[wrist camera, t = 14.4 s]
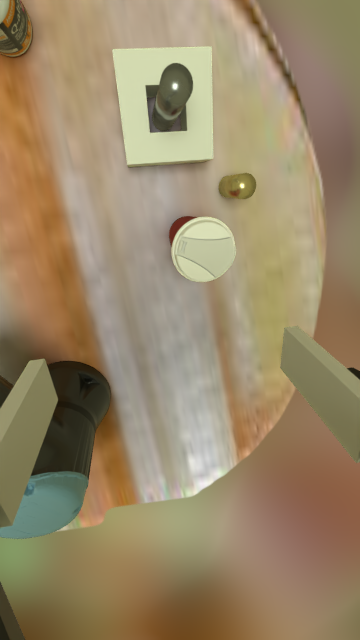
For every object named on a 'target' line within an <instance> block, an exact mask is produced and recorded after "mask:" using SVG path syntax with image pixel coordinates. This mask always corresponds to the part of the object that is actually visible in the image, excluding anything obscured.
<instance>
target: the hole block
mask: <svg viewBox="0 0 360 640" xmlns="http://www.w3.org/2000/svg"><path fill="white" fill-rule="evenodd" d="M112 51H113V59H114V66H115V74H116V82H117V90H118V97H119V105H120V113H121V120H122V128H123V136H124V143H125V151H126V159H127V165H128V167H138V166H153V165H167V164H182V163H197V162H206V161H209V160H212V159H213V108H212V47H176V48H140V49H112ZM172 63H180V64H182V65H184V66H185V67H186V68H187V69H188V70H189V71H190V73H191V75H192V79H193V91H192V94H191V96H190V98H189V99H188V101H187V103H186V104H185V106H184V108H183V109H182V111H181V113H180V120H181V131H175V132H157V133H150V128H149V118H148V107H147V97H156V96H157V92H158V87H159V83H160V79H161V75H162V73H163V71H164V69H165V68H166V67H167V66H168V65H170V64H172Z"/></svg>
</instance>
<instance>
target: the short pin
mask: <svg viewBox="0 0 360 640" xmlns="http://www.w3.org/2000/svg"><path fill="white" fill-rule="evenodd" d="M255 189H256V181H255V178H254V177H253V176H252V175H251V174H248V173H243V174H237V175H230V176H225V177H223V178H222V179H221V181H220V183H219V192H220V194H221V195H222V196H223V197H226V198H238V199H247V198H249V197H251V196H252V195H253V193H254V192H255Z"/></svg>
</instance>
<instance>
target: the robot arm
mask: <svg viewBox="0 0 360 640" xmlns="http://www.w3.org/2000/svg"><path fill="white" fill-rule="evenodd" d="M280 368H281V369H282V371H283V372H284V373H285V374H286V376H287V377H288V378H289V379H290V381H291V382H292V383H293V384H294V386H295V387H296V388H297V389H298V391H299V392H300V393H301V394H302V395H303V397H304V398H305V399H306V401H307V402H308V403H309V404H310V406H311V407H312V408H313V409H314V411H315V412H316V413H317V414H318V416H319V417H320V418H321V419H322V421H323V422H324V423H325V424H326V426H327V427H328V428H329V429H330V431H331V432H332V433H333V434H334V436H335V437H336V438H337V439H338V441H339V442H340V443H341V444H342V446H343V447H344V448H345V450H346V451H347V452H348V453H349V454H350V456H351V457H352V458H353V459H354V461H355V462H356V463H358V462H360V371H358V370H356V369H354V368H345V367H344V366H343V365H342V364H341V363H340V362H338V361H337V360H336V359H335V358H334V357H333V356H332V355H330V354H329V353H328V352H327V351H326V350H325V349H323V348H322V347H321V346H320V345H319V344H318V343H316V342H315V341H314V340H313V339H312V338H311V337H309V336H308V335H307V334H306V333H305V332H304V331H302V330H301V329H300V328H299V327H298V326H293V327H286V328H284V337H283V347H282V356H281V366H280ZM110 396H111V393H110V387H109V384H108V382H107V381H106V379H105V378H104V376H103V375H102V374H101V373H100V372H98V371H97V370H96V369H94V368H92V367H90V366H88V365H86V364H83V363H79V362H72V361H63V362H56V363H52V364H49V365H47V364H46V361H45V359H38V360H30V361H29V362H28V364H27V366H26V367H25V369H24V371H23V372H22V374H21V376H20V377H19V379H18V380H17V382H16V384H15V385H14V386H13V385H12V384H10V383H9V382H8V381H7V380H5V379H4V378H3V377H2V376H0V537H3V538H12V539H13V538H14V539H24V538H32V537H38V536H42V535H46V534H49V533H52V532H55V531H57V530H59V529H61V528H63V527H64V526H66V525H67V524H69V523H70V522H71V521H72V520H73V519H74V518H75V517H76V516H77V514H78V513H79V511H80V509H81V507H82V504H83V500H84V496H85V492H86V489H87V487H88V480H89V473H90V466H91V459H92V452H93V445H94V438H95V431H96V429H97V428H98V426H99V425H100V423H101V421H102V420H103V418H104V417H105V415H106V413H107V411H108V408H109V404H110ZM0 640H25V638H24V636H23V633H22V631H21V629H20V627H19V624H18V622H17V620H16V617H15V615H14V613H13V610H12V608H11V606H10V603H9V601H8V599H7V596H6V594H5V592H4V590H3V587H2V585H1V583H0Z"/></svg>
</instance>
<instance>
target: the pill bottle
mask: <svg viewBox="0 0 360 640" xmlns="http://www.w3.org/2000/svg"><path fill="white" fill-rule="evenodd" d="M31 39H32V26H31V21H30V18H29V15H28V13H27V11H26V9H25V7H24V5H23V4H22V2H21V1H20V0H0V53H1V54H3V55H6V56H10V57H15V56H19V55H21V54H23V53H24V52H25V51H26V50H27V49H28V47H29V45H30V43H31Z"/></svg>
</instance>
